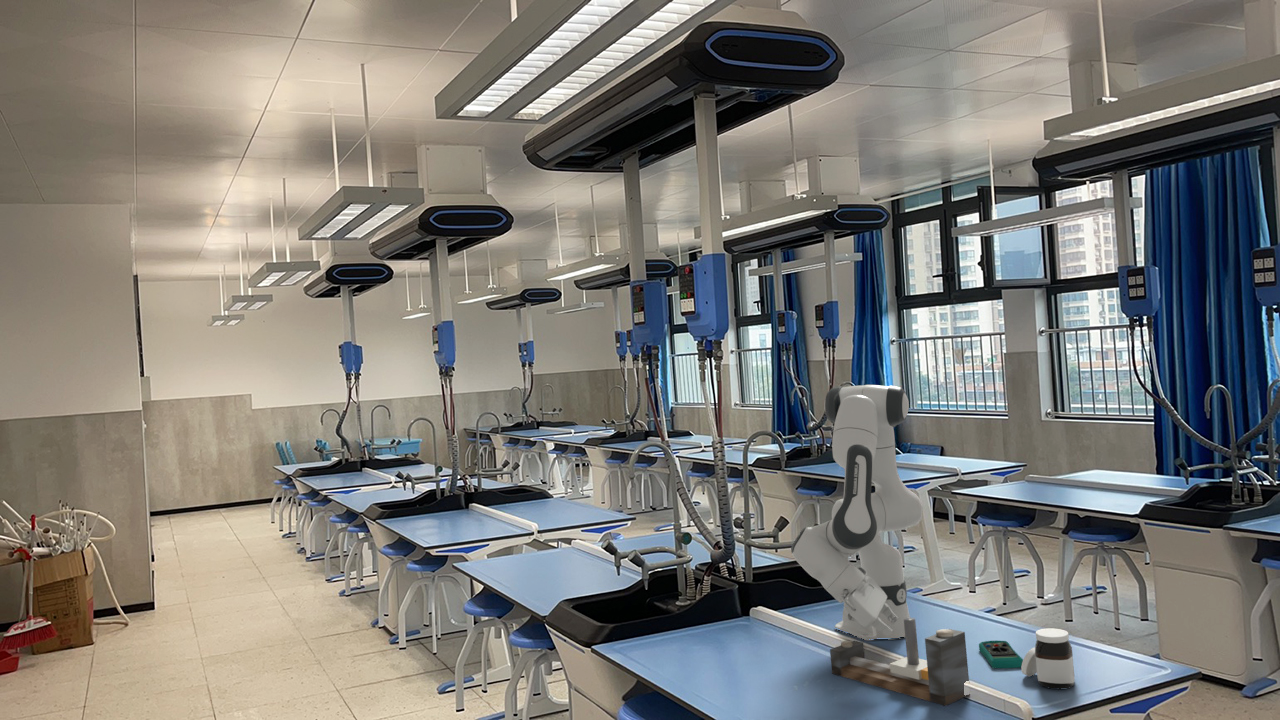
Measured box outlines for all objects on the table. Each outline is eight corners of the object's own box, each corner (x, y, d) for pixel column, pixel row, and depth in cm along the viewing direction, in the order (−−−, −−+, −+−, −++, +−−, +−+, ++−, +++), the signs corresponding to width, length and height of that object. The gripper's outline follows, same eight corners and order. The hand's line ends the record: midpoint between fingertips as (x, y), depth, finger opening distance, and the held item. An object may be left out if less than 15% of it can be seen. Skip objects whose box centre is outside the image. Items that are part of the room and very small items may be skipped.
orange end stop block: (921, 678, 211) (920, 669, 211) (935, 672, 214) (934, 664, 214) (932, 681, 209) (932, 672, 209) (946, 675, 212) (945, 666, 212)
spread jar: (1073, 693, 205) (1068, 640, 205) (1018, 688, 210) (1013, 637, 210) (1077, 675, 215) (1072, 624, 215) (1025, 671, 221) (1020, 622, 221)
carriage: (890, 672, 217) (885, 619, 217) (909, 664, 221) (904, 613, 221) (919, 679, 210) (914, 625, 211) (938, 671, 215) (933, 618, 215)
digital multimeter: (1008, 650, 238) (1007, 638, 238) (1024, 669, 223) (1023, 657, 223) (978, 651, 239) (977, 640, 239) (992, 671, 224) (991, 658, 224)
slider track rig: (832, 673, 230) (826, 613, 231) (856, 664, 236) (851, 605, 236) (945, 705, 204) (939, 638, 204) (970, 694, 209) (964, 628, 209)
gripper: (848, 587, 211) (896, 631, 207) (863, 565, 230) (907, 605, 226) (830, 606, 212) (877, 650, 209) (846, 583, 231) (890, 623, 228)
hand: (893, 627), depth 217 cm, fingers open, 8 cm apart
